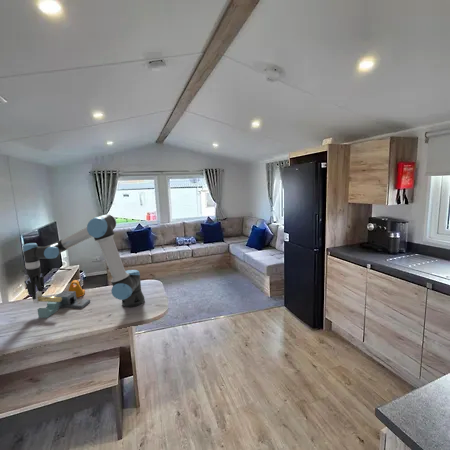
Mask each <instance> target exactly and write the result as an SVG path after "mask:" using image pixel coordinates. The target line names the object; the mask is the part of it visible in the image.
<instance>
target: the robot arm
mask: <svg viewBox="0 0 450 450" xmlns="http://www.w3.org/2000/svg"><path fill="white" fill-rule="evenodd" d="M116 226H117V221H116V219H115V217H114V216H113V215H111V214H107V213H106V214H102V215H98V216H95V217H93V218H92V219H90V220H89V221H88V223H87V224H86V227H84V228H81V229H80V230H78V231H76V232H73V233H72V234H70V235H67V236H66V237H64V238H62V239H59V240H58V241H55V242H53V243H51V244H48V245H46V246H38V244H37V243H36V242H29V243H25V244H23V245H22V254H23V257H24V265H25V273H26V275H27V280H24V283H25V284H26V285H25V286H26V290H27V293H28V295H31V299H32V301H33V304H34V305H36V304H37V305H38V304H39V302H38V297H43V291H44V289H45V279H44V278H45V274H44V273H42V269H41V262H40V259H43V260H44V259H45V260H46V259H47V260H48V259H49V260H50V259H51V260H52V259H56V258H57V257H58V256H59V255H60V254H61V253H63V252H65V251H67V250H69V249H71V248H73V247H75V246H78V245H79V244H81V243H83V242H85V241H87V240H89V239H92V238H94V241H95V242H96V243H98V244H99V247H100V249H101V252H102V254H103V257H104V260H105V262H106V265H107V268H108V270H109V273H110V275H111V280H110V283H111V285H112V288H111V294H112V296H113V297H114V298H115V299H116V300H119V301H121V305H122V306H123V307H125V308H133V307H138V306H140V305H143V303H145V296H144V293H143V291H142V285H141V284H142V283H141V273H140V271H139V270H137V269H127V270H126V269H125V266H124V264H123V261H122V259H121V255H120V253H119V250H118V248H117V245H116V243H115V239H114V236H115V232H114V230H115V228H116ZM36 289H37V290H36Z"/></svg>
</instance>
